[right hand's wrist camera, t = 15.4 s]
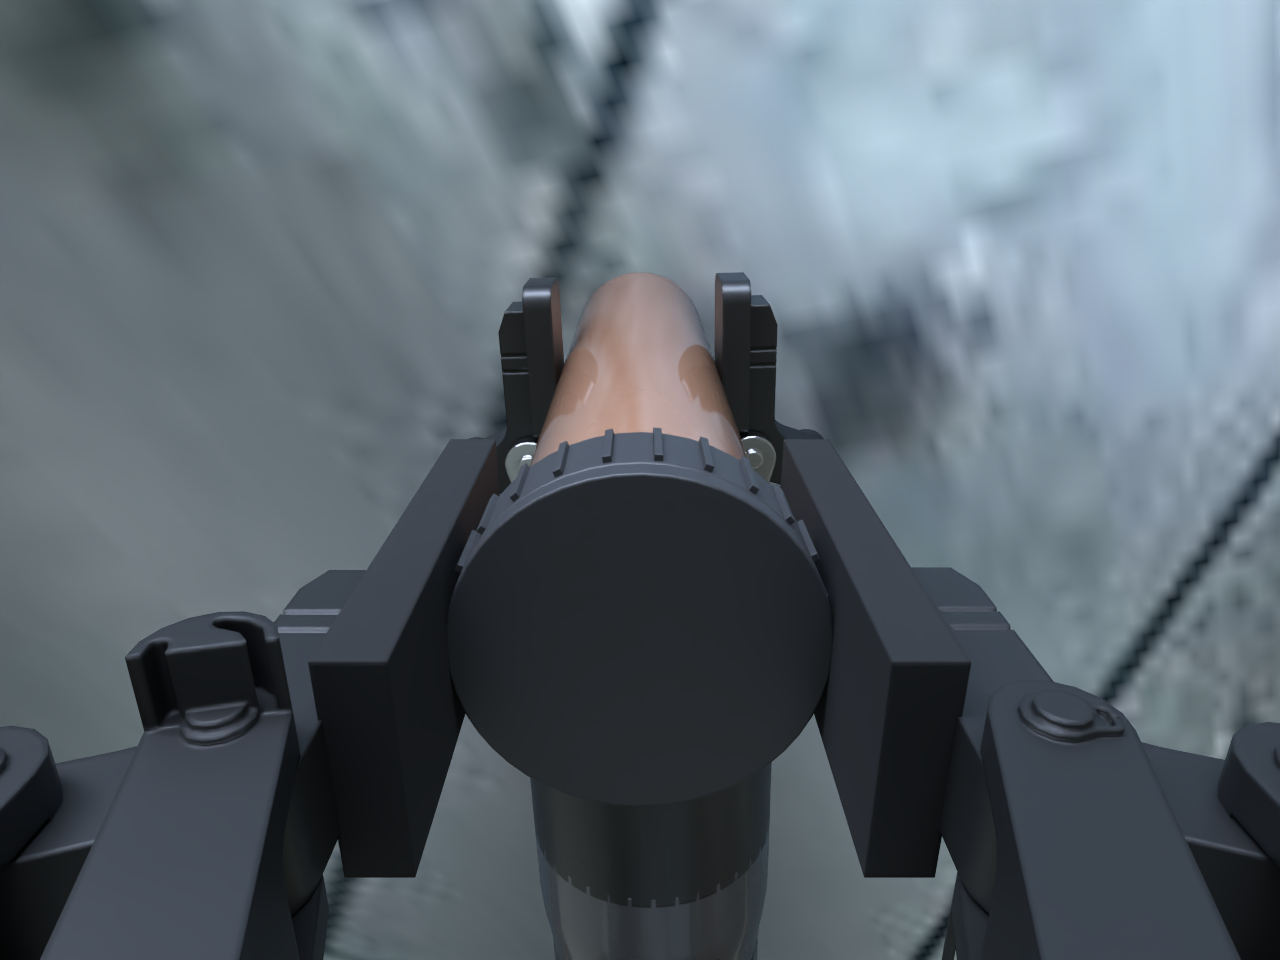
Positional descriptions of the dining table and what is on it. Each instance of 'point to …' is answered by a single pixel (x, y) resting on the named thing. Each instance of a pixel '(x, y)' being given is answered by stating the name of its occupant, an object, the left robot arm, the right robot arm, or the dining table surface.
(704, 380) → the jar
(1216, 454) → the dining table surface
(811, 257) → the dining table surface
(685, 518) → the lid
